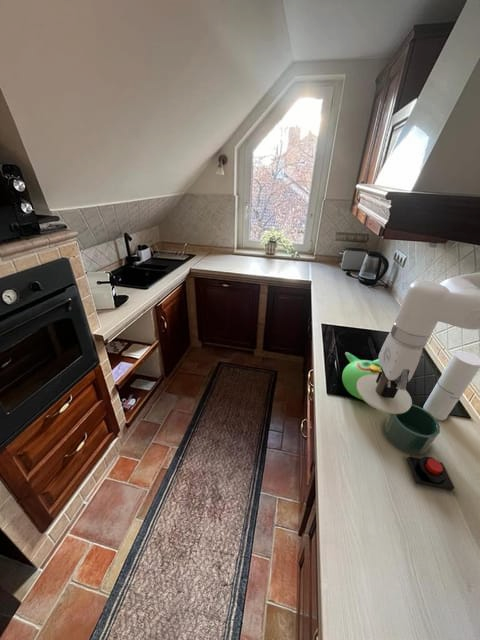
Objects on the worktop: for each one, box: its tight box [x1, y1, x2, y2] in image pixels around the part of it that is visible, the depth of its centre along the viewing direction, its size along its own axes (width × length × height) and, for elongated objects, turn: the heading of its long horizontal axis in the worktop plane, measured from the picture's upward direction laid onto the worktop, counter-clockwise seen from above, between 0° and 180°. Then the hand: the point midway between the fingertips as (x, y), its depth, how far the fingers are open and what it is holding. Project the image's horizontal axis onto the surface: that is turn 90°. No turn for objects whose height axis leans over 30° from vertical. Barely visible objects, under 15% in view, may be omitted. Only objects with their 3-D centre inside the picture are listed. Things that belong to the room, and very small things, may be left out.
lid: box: [356, 371, 413, 415], centre depth 68 cm, size 14×14×7 cm
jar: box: [384, 403, 441, 455], centre depth 81 cm, size 13×13×8 cm
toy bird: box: [341, 351, 381, 401], centre depth 95 cm, size 18×17×15 cm
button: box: [425, 458, 443, 475], centre depth 70 cm, size 4×4×2 cm
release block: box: [406, 455, 455, 492], centre depth 71 cm, size 9×7×4 cm
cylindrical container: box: [422, 350, 480, 421], centre depth 85 cm, size 7×7×25 cm
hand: (384, 389), depth 68 cm, fingers closed on lid, 4 cm apart
